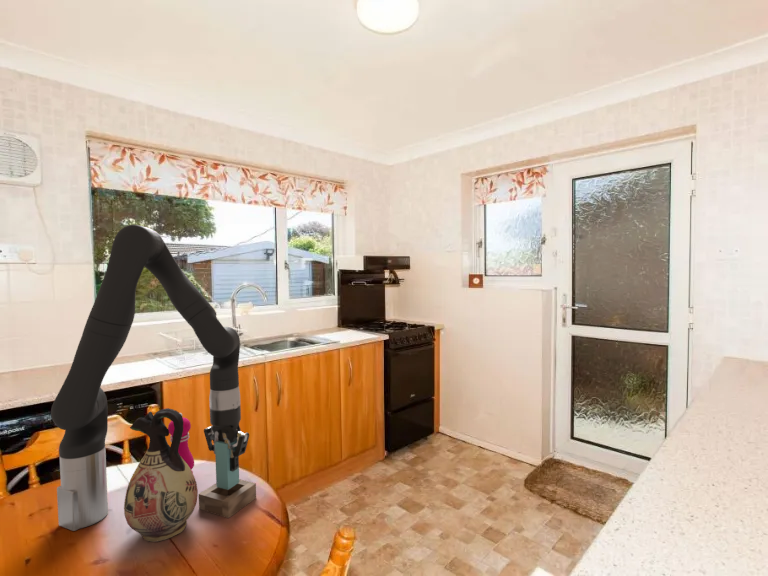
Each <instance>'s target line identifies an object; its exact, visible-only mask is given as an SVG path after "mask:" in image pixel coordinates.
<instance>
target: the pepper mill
mask: <svg viewBox="0 0 768 576" xmlns="http://www.w3.org/2000/svg"><path fill="white" fill-rule="evenodd" d="M179 413H180V414H181V416H182V418H183V421H184V422H183V433H182V437H181V441H180V445H179V449H178V453H179V455H180V456H181V457H182V459H183V460H184V461H185V462H186V463H187V464H188V466H189V467H190V469H191V471H192V473H193V474H194V471H193V469H194V467H195V458H194V456H193V454H192V452H191V451H190V448H189V438H190V433H189V431H190V430H191V428H192V424H191V421H190V420H189V419H188V418H187V417H183V413H182V412H179ZM167 429H168V430H169V436H170V437H169V438H170V439H169V441H170V442H171V443H172V437H173V433H174V424H173V421H171V420H170V422H169V423H168V426H167Z"/></svg>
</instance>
